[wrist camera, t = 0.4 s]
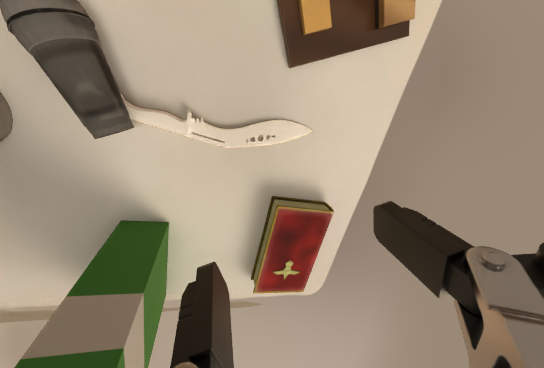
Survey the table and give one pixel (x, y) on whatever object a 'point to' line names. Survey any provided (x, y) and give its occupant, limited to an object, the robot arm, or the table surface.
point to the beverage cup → (70, 59)
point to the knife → (231, 137)
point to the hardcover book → (290, 244)
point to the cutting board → (335, 31)
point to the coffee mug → (4, 118)
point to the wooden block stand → (393, 12)
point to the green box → (109, 305)
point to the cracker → (315, 15)
